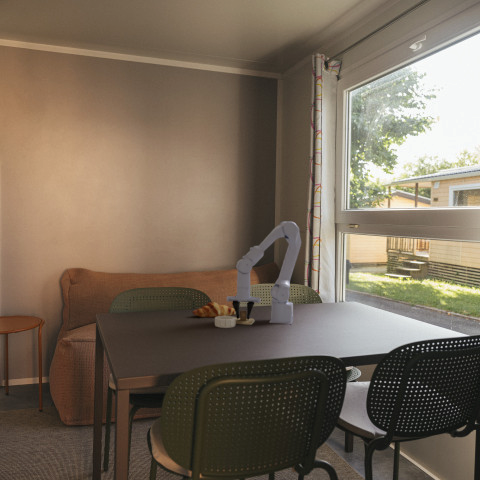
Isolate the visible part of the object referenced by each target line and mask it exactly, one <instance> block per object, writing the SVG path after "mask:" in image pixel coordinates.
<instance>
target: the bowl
mask: <svg viewBox="0 0 480 480" xmlns="http://www.w3.org/2000/svg"><path fill="white" fill-rule="evenodd" d="M236 318H237V317H236V316H234V315H229V316H217V317H214V326H215V327H218V328H220V329H221V328H223V329H224V328H225V329H227V328H234V327H236V325H237V324H236Z"/></svg>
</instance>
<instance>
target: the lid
mask: <svg viewBox="0 0 480 480" xmlns="http://www.w3.org/2000/svg"><path fill="white" fill-rule="evenodd" d="M235 318H236V324H235V325H248V324H250V325H251V323H252V322H253V321H254V322H255V319H254V318H250V319H249V320H248V319H247V309H244V310H243V309H242V310H239V319H237V317H235Z"/></svg>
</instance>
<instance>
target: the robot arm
mask: <svg viewBox="0 0 480 480" xmlns="http://www.w3.org/2000/svg"><path fill="white" fill-rule="evenodd" d="M281 238H285V240H286V242H287V243H288V246H287V250H286V252H285V255H284V258H283V262H282V266H281V268H280V272H279V275H278V278H277V279H276V281H275V282H274V285H273V286H272V287H271V289H270V295H271V297H272V299H271V310H270V311H271V315H270V317H271V319H270V320H269V323H270V324H271V323H272V324H284V325H285V324H286V325H287V324H288V325H291V324H292V323H293V322H294V303H293V302H291V301H289V299H290V295H291V294H290V289H291V284H290V283H291V278H292V275H293V272H294V268H295V265H296V262H297V260H298V256H299V254H300V249H301V246H302V239H301V234H300V227H299V226H298V225H297V223H296V222H294V221H292V220H291V221H286V220H285V221H281V222H280V223H279V224H278V225H276V226H275V227H274V228H273V229H272V230H271V231H270V233H269V234H268V235H267V236H265V238H264V239H263V241H261V242H260V244H258V245H253V247H252V246H250V248H249V251H248V252H247V253H246V254H245V255H242V258H241V259H239V260H238V261H237V262H236V265H235V267H236V270H237V276H236V295H234V296H226V302H232V303H231V305H232V308H233V309H235V312H236V314H235V315H236V316H235V317H236V318H237V319H239V318H240V306H241V305H240V303H246V308H247V309H246V311H247V314H246V318H247V319H248V320H249V319H251V318H250V317H251V313H252V311H253V310H252V309H253V307H254V305H255V303H257V304H260V303H261V297H255V296H251V272H252V270H253V266H254V267H255V265H256V264H257V263H259V261H260V260H261V259H262V258H263V257H264V255H265V251H266V250H267V249H268V248H269V247H270V246H271V245H272V244H273V243H274V242H276V240H277V239H281Z"/></svg>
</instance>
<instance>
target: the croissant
mask: <svg viewBox="0 0 480 480" xmlns="http://www.w3.org/2000/svg"><path fill="white" fill-rule="evenodd" d="M192 314H193V316H196V317H199V318H215V317H217V316H235V315H236V312H235V309H234V307H233V306H231V307H229V306H227V305H226V304H218V303H217V302H215V301H214V302H213V301H210V302H208V303H207V304H205V305H202V307H200V308H196V309H195V310H192Z"/></svg>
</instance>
